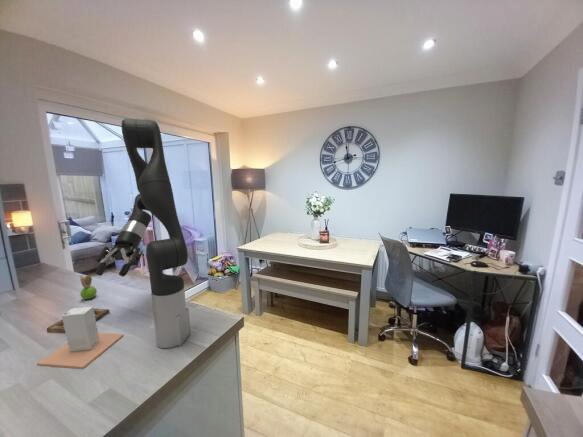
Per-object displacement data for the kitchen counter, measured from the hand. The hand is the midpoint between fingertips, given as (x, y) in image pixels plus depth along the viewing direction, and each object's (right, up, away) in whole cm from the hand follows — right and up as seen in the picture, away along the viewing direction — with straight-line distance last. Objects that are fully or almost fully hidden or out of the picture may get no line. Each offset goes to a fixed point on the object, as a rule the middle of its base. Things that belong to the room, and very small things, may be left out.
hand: (109, 275), depth 81 cm
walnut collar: (-15, -18, +5) cm, 24 cm away
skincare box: (-1, -20, -9) cm, 22 cm away
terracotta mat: (-1, -21, -9) cm, 22 cm away
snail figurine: (-26, -16, +22) cm, 38 cm away
